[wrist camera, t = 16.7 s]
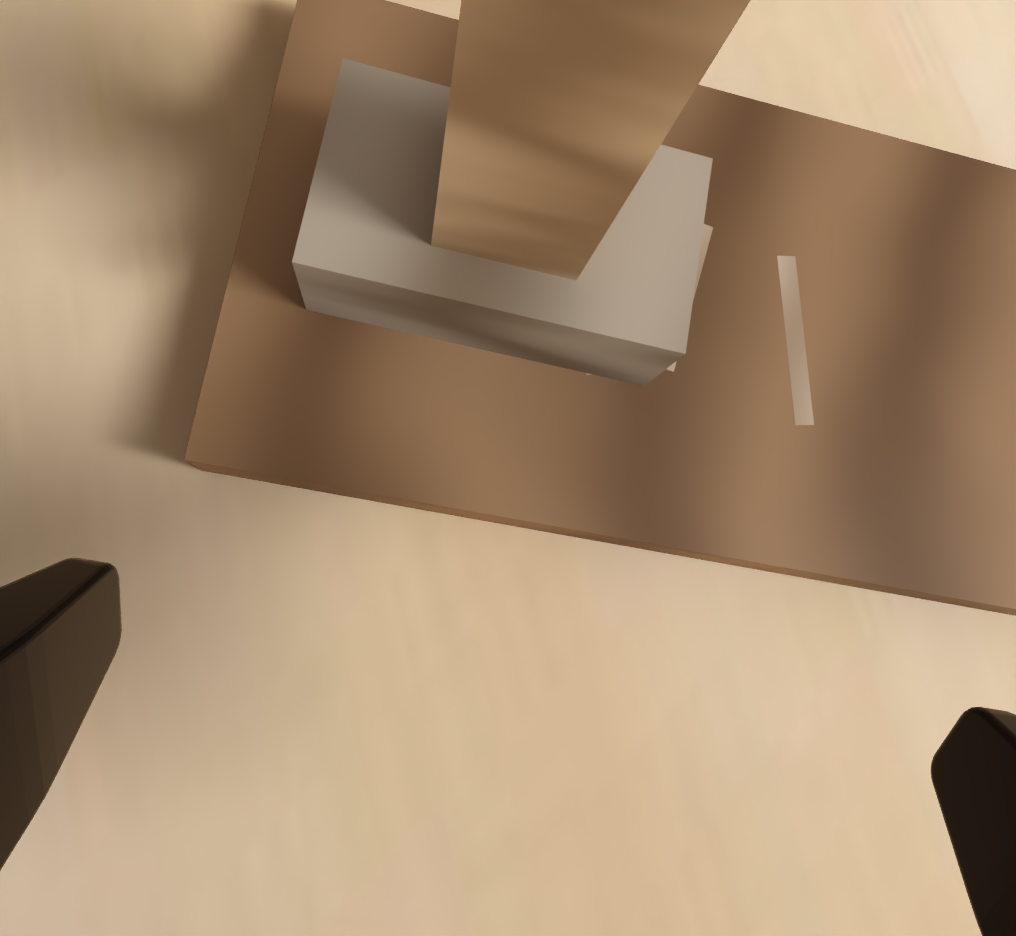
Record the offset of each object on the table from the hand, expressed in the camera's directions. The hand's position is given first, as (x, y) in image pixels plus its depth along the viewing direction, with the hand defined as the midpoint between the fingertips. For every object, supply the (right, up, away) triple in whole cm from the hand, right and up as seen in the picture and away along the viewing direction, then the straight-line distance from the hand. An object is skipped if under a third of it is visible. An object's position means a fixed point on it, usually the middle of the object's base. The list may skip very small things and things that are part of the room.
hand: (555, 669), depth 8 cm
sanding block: (-1, +7, +10) cm, 12 cm away
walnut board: (+4, +6, +12) cm, 14 cm away
